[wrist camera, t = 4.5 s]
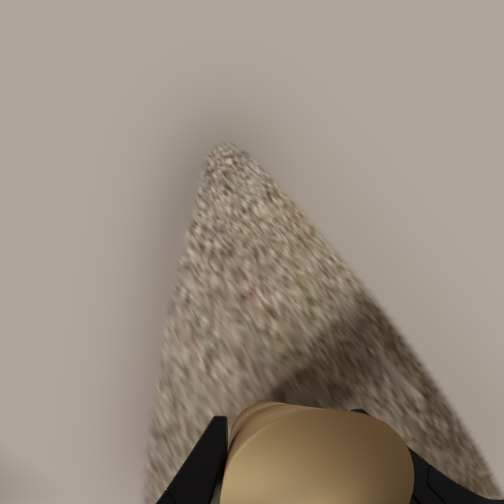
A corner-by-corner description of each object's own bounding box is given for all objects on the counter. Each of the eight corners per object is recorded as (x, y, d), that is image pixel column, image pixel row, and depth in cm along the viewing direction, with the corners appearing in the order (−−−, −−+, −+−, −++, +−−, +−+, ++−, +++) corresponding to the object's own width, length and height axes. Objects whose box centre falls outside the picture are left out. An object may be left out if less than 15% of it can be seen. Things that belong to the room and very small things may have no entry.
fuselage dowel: (282, 480, 13) (350, 585, 3) (216, 448, 14) (182, 533, 4) (319, 420, 14) (441, 443, 5) (255, 388, 15) (287, 375, 5)
